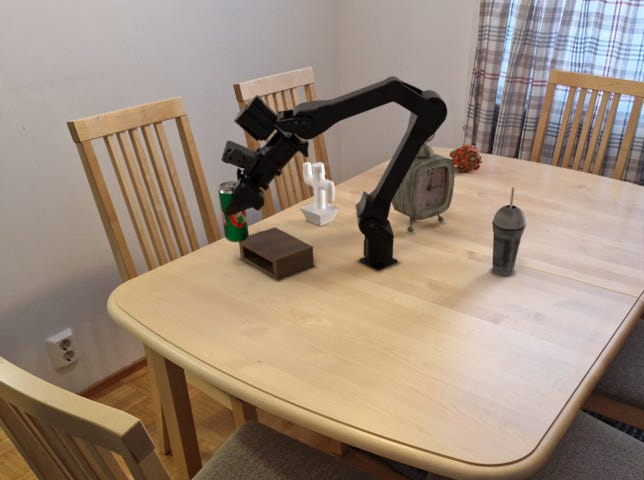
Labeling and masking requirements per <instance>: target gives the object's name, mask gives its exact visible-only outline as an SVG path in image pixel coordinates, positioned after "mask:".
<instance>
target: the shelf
mask: <svg viewBox="0 0 644 480" xmlns="http://www.w3.org/2000/svg"><path fill="white" fill-rule="evenodd" d="M238 244H239V245H238V246H239V252H240V254H239V255H240V260H242V261H244V262H245V263H247V264H248V265H250V266H253V267H254V268H255V269H257V270H259V271H261V272H262V273H264V274H266V275H267V276H269V277H270V278H272V279H274V280H276V281H281V280H282V279H285V278H289V277H291V276H294V275H296V274H299V273H301V272H304V271H306V270H309V269H311V268H314V267H315V263H314V246H313V245H311V244H309V243H307V242H305V241H303V240H301V239H299V238H297V237H296V236H293V235H291V234H289V233H287V232H285V231H283V230H282V229H280V228H278V227H276V226H274V227H271V228H268V229H265V230H262V231H259V232H256V233H252V234H249V236H248V238H247V239H246V240H244V241H241V242H238Z"/></svg>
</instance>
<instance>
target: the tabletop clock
mask: <svg viewBox="0 0 644 480" xmlns="http://www.w3.org/2000/svg"><path fill="white" fill-rule="evenodd" d="M435 136H436V132H435V133H434V134H433V135H432V136H431V137H430V138H429V139H428V140H426V141H425V143H424V144H423V146H422V147H421V149H420V151H419V153H418V155H417V156H416V158H415V160H414V162H413V164H412V165H411V167H410V169H409V171H408V173H407V174H406V176H405V178H404V180H403V182H402V183H401V185H400V187H399V189H398V191H397V192H396V194H395V196H394V198H393V200H392V202H391V205H392V208H393V210H394V211H396V212H398V213H400V214H402V215H405V217H409V226H408V227H407V232H408V233H410V234H411V233H414V231H415V228H414V227H413V224H414V223H416V222H417V221H423V220H425V219H430V218H434V217H436V216H437V217H438V218H437V221H438V222H439V223H441V224H442V223H443V222H445V218H444V217H443V216H442V215H441V214H443V213H444V212H446V211H447V210H448V209H449V208H450V206H451V203H452V200H453V194H454V186H455V166H454V163H453V160H452V158H449V157H446V156H443V155H440V154H438V153H435V152H434V150H433V148H432V146H431V145H429V144H428V143H430V142H432V141H433V139H434V138H435Z"/></svg>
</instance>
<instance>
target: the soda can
mask: <svg viewBox="0 0 644 480" xmlns="http://www.w3.org/2000/svg"><path fill="white" fill-rule="evenodd" d="M234 183H237V181H235V180H233V181H232V180H230V181H223V182H221V183H219V184H218V189H217V193H218V201H219V206H220V213H221V219H222V226H223V233H224V238H225V239H226V241H228V242H231V243H239V242H241V241H244V240H246V239H247V238H248V236H249V235H250V233H249V225H248V217H247V209H246V210H244V211H241V212H238V213H236V214H233V215H230V216H226V215H225V214H224V211H225V210H226V208H227V206H228V204H229V203H230V201H231V199H232V198H233V196H234V194H235V192H234V191H233V190H234V189H233V187H234Z"/></svg>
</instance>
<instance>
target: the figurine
mask: <svg viewBox="0 0 644 480" xmlns="http://www.w3.org/2000/svg"><path fill="white" fill-rule="evenodd" d="M302 173H303V182H304V184H305V185H306V186H307V185H308V186H309V187H312V188H313V202H312V203H309V204H306V205H304V206H301V207H299V210H300V211H301V213H302V215H304V218H306V220H307V222H308V223H311V224H314V225H317V226H319V227H322V226H324V225H327V224H329V223H331V222H333V221H334V219H335V217H336V215H337V214H338V212H339V211H340V208H341V207H339V206H338V205H337V206H336V205H333V204H332V203H334V202H335V201H336V194H335V183H334V182H333V181H332V180H330V179H327V178H325V175H326V170H325V164H324V163H323V162H322V161H317V162H313V163H311V162H310V161H305V162H304V163H303V164H302Z"/></svg>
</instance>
